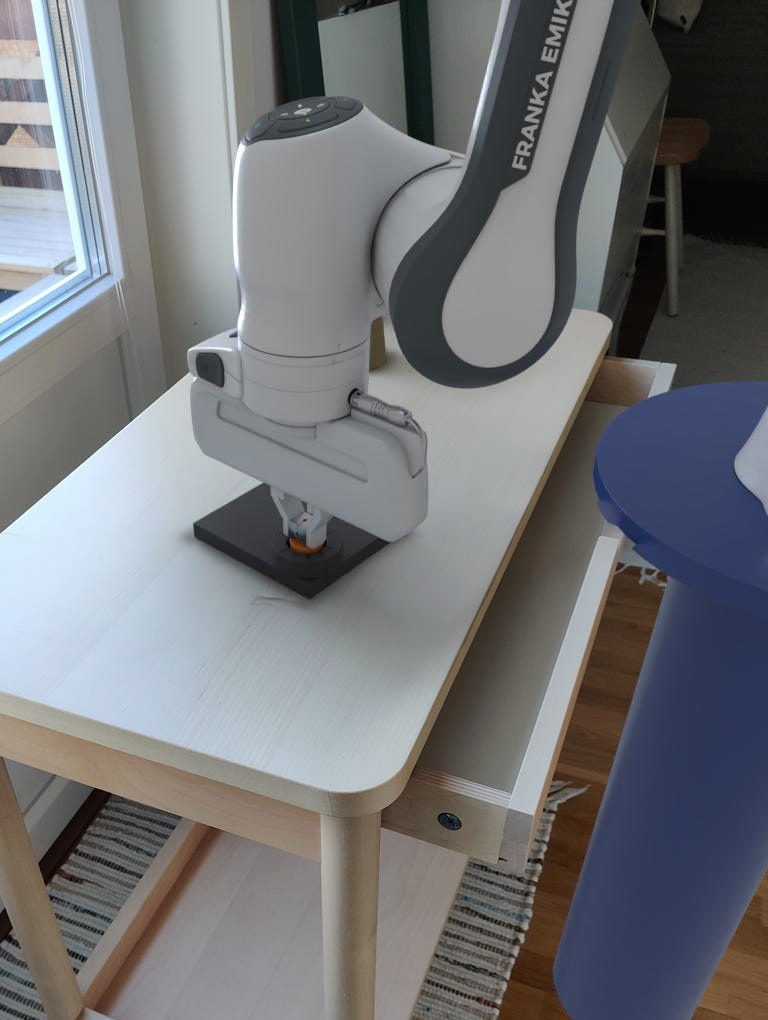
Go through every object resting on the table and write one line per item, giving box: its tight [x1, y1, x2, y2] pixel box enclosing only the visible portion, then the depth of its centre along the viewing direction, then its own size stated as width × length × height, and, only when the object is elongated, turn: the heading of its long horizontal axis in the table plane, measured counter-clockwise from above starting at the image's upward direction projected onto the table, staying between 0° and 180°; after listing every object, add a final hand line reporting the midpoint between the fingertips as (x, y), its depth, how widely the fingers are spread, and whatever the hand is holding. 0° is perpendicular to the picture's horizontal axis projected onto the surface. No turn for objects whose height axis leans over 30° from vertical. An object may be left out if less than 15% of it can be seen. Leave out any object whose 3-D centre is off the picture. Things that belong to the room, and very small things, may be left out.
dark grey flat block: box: [192, 482, 392, 600], centre depth 79 cm, size 13×12×3 cm
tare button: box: [290, 538, 323, 554], centre depth 75 cm, size 3×3×2 cm
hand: (304, 539), depth 74 cm, fingers closed, pressing on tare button
